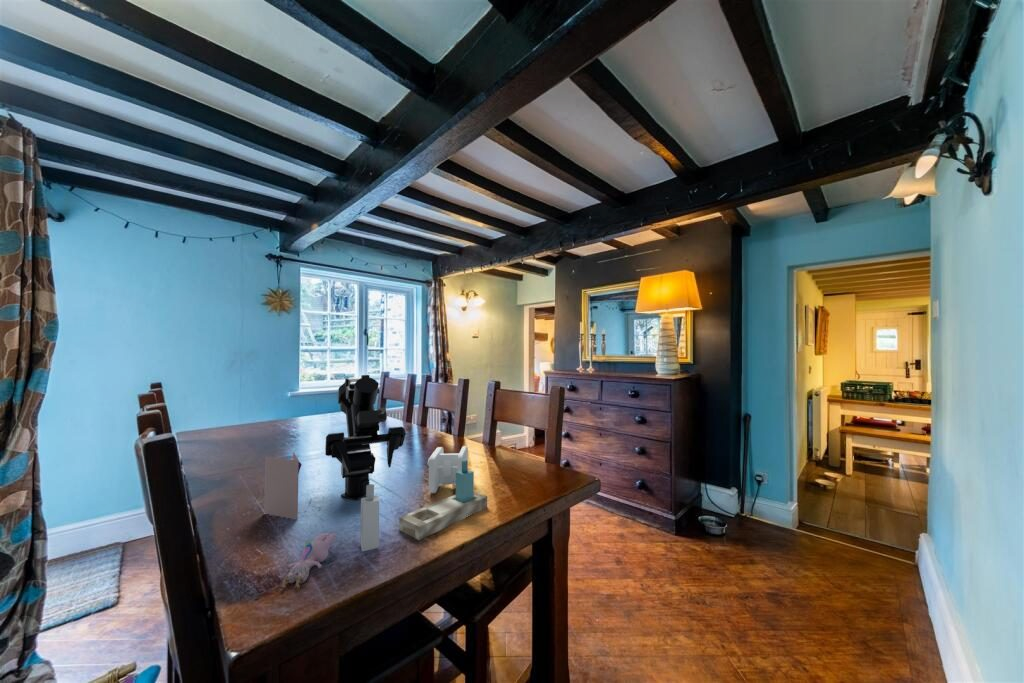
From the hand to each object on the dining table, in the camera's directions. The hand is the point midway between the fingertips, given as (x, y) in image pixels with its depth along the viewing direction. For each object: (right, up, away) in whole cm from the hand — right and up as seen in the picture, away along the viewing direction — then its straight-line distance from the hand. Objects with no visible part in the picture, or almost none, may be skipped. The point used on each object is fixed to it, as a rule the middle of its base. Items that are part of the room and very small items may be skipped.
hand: (370, 469), depth 87 cm
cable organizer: (+14, -16, +27) cm, 34 cm away
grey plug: (+3, -14, -8) cm, 16 cm away
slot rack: (+17, -14, +5) cm, 23 cm away
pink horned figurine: (-5, -14, -16) cm, 22 cm away
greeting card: (-26, -15, +7) cm, 31 cm away
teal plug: (+21, -15, +10) cm, 28 cm away
